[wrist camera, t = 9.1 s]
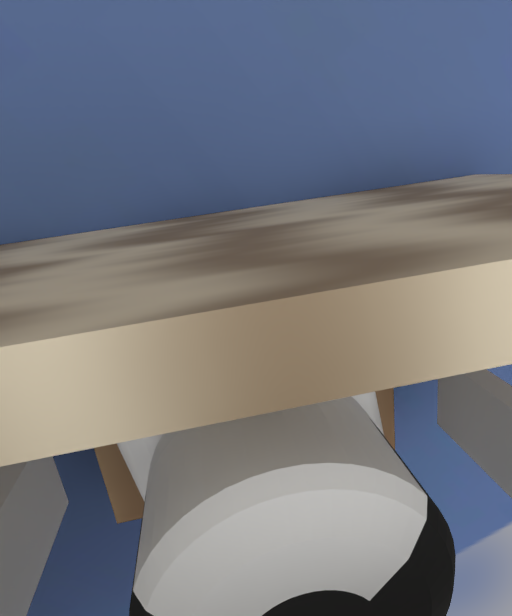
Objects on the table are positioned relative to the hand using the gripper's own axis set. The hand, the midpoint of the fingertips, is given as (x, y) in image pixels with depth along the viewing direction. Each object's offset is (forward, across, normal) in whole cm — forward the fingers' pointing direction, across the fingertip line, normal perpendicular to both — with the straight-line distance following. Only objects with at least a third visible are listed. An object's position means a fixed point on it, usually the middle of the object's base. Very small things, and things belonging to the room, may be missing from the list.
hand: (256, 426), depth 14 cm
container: (+6, 0, 0) cm, 6 cm away
